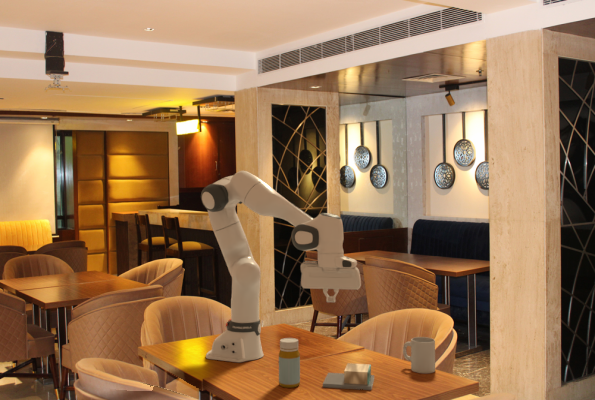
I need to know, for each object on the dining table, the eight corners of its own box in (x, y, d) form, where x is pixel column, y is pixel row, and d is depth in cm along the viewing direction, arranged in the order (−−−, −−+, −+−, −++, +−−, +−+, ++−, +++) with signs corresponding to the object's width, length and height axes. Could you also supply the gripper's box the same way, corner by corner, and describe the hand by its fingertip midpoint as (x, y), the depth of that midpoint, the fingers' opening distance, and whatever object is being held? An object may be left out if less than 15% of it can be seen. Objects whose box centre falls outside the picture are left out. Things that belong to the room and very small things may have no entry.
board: (322, 387, 189) (322, 383, 189) (328, 376, 201) (328, 372, 201) (371, 390, 186) (371, 386, 186) (374, 378, 198) (374, 375, 198)
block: (344, 371, 190) (368, 372, 188) (347, 363, 199) (370, 364, 197) (344, 383, 190) (368, 384, 188) (347, 374, 199) (370, 376, 197)
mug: (439, 369, 208) (438, 338, 208) (429, 375, 202) (429, 343, 201) (408, 363, 215) (408, 334, 215) (398, 369, 209) (398, 339, 209)
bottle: (278, 382, 195) (278, 337, 195) (299, 381, 196) (298, 337, 196) (279, 388, 188) (279, 343, 188) (300, 388, 189) (300, 342, 189)
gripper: (298, 261, 194) (299, 302, 194) (359, 262, 189) (359, 304, 190) (302, 259, 200) (302, 299, 200) (361, 260, 196) (361, 301, 196)
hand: (331, 302), depth 195 cm, fingers closed
